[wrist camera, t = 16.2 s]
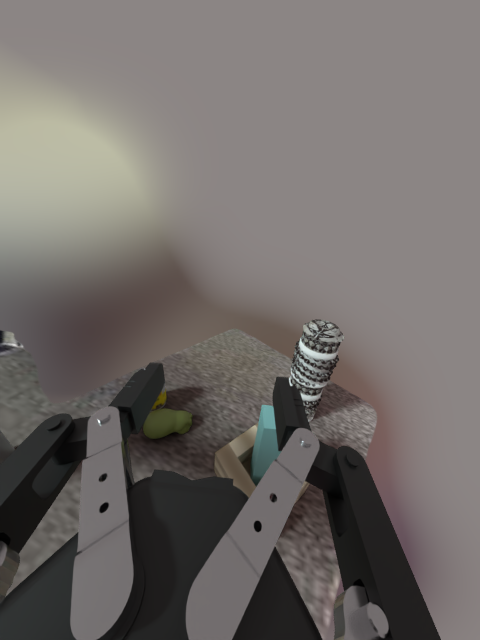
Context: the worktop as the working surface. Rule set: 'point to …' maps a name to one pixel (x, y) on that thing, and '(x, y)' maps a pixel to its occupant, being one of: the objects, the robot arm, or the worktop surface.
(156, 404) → the supplement bottle
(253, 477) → the peg
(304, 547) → the worktop surface
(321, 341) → the decorative candle
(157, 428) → the pear
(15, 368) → the worktop surface
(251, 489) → the socket block
